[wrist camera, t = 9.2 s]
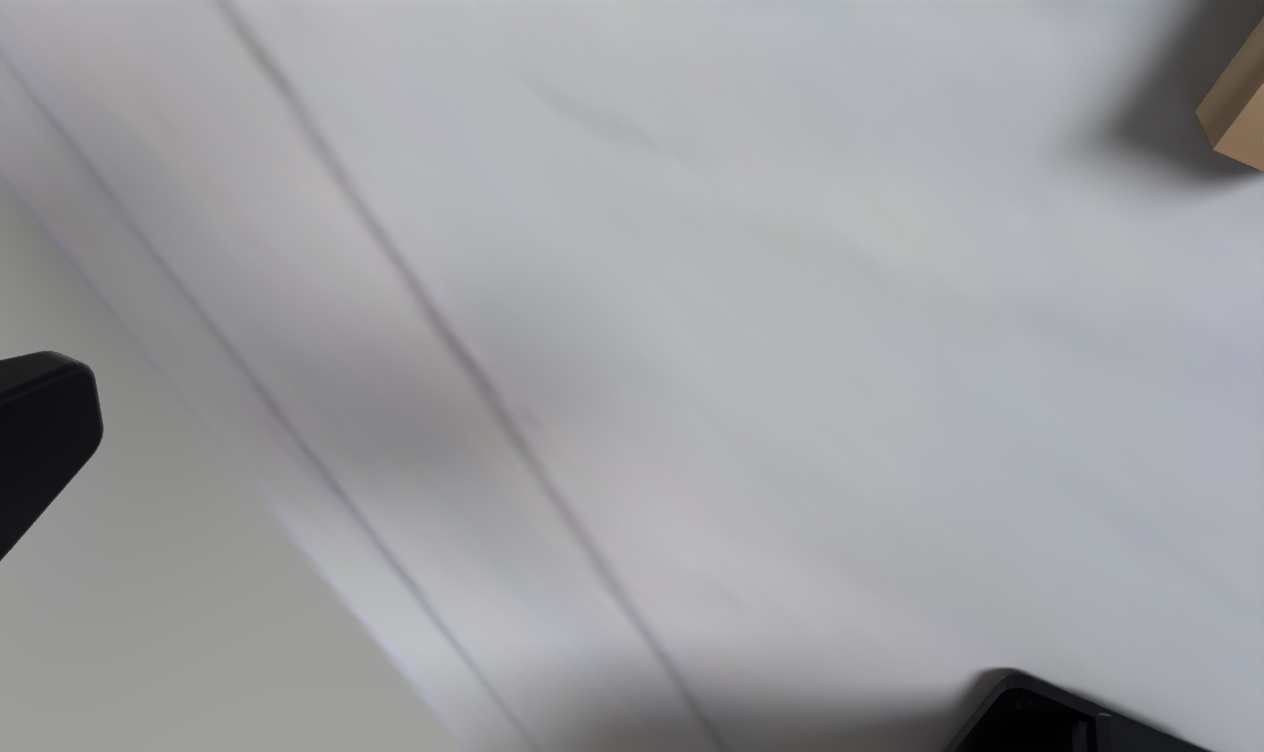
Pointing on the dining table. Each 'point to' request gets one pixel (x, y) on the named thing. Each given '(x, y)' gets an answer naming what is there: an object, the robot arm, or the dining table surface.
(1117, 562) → the dining table surface
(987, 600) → the dining table surface
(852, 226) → the dining table surface
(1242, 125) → the tan bar
